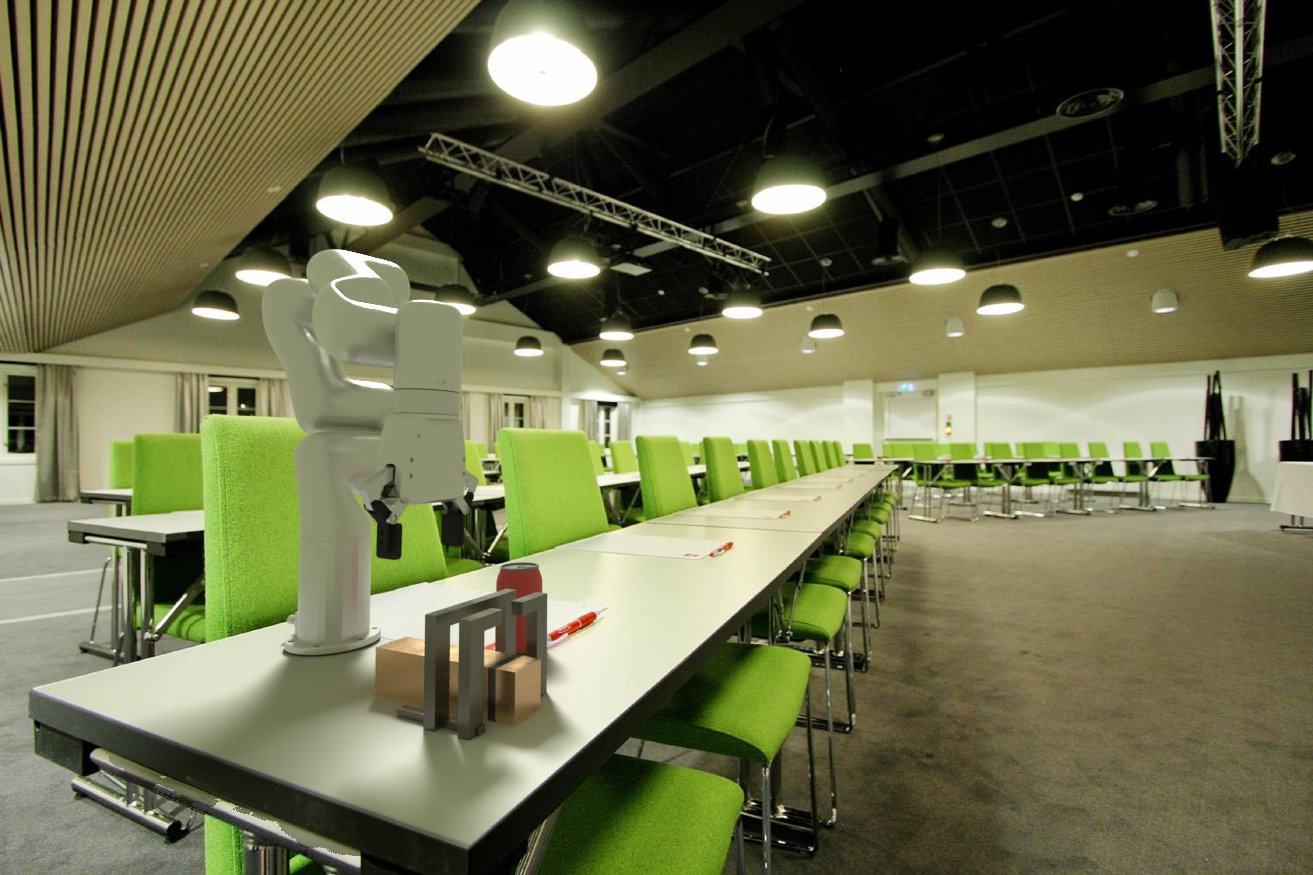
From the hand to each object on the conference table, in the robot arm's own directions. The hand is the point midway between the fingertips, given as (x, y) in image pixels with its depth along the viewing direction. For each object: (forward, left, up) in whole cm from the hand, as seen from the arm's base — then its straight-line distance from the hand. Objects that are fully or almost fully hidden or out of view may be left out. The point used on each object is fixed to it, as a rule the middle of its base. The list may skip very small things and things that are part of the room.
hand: (422, 551), depth 69 cm
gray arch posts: (+8, 0, -17) cm, 18 cm away
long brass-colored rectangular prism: (+5, 0, -17) cm, 17 cm away
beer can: (+1, +18, -17) cm, 24 cm away
